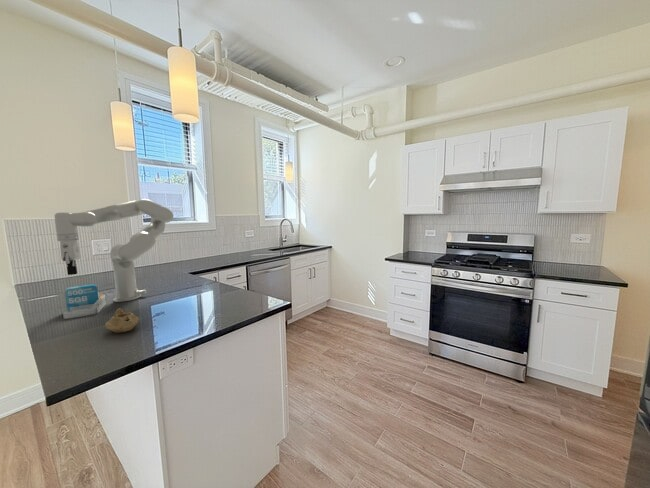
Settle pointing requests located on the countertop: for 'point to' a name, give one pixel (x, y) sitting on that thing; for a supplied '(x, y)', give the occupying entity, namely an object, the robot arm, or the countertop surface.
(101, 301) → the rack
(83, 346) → the countertop surface
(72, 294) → the data package
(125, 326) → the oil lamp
